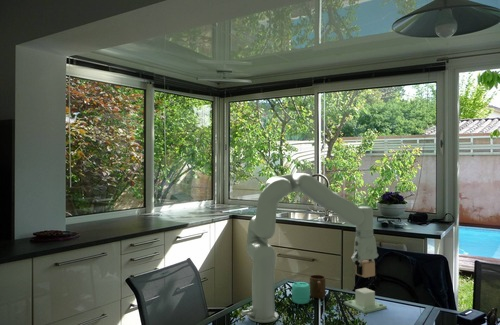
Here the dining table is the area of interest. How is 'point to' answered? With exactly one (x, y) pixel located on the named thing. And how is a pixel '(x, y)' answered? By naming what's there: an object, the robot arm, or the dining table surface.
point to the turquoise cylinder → (300, 293)
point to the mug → (317, 286)
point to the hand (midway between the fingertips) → (365, 273)
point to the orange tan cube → (367, 269)
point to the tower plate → (365, 309)
